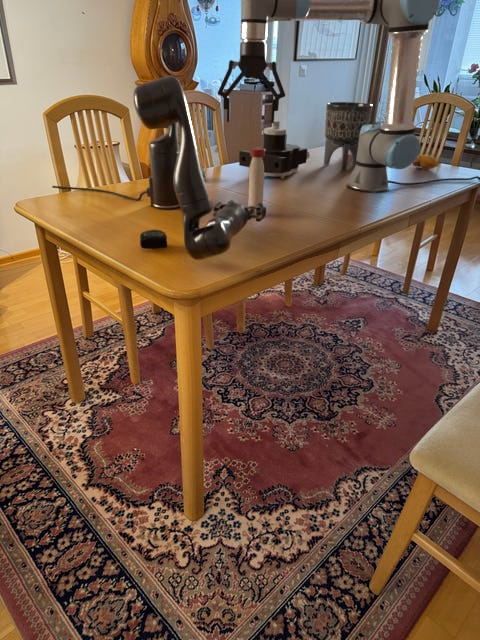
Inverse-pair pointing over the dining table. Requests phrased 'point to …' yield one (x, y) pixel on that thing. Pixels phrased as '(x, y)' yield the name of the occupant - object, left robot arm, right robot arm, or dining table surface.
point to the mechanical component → (277, 153)
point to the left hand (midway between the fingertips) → (246, 204)
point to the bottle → (256, 182)
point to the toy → (425, 162)
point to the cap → (257, 152)
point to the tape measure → (153, 239)
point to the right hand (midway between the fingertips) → (250, 122)
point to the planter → (345, 129)
